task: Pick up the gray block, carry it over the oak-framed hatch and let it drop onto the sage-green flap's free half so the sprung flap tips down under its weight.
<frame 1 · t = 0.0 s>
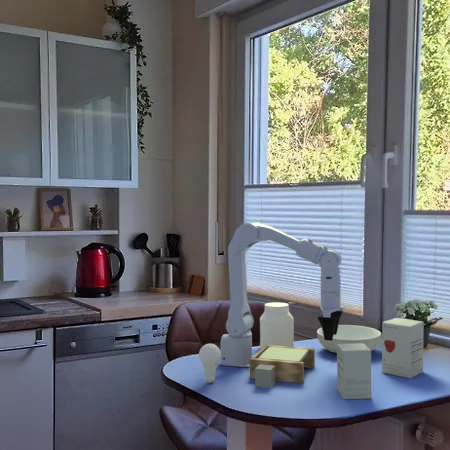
hand: (330, 337, 172), 10 cm above the table, tool pointing down, fingers open, 7 cm apart
lightbulb: (210, 383, 163), on the table
hatch frame: (283, 372, 172), on the table
hatch: (282, 354, 172), point 5 cm above the table, hinge at 0.0°
supplement box: (353, 395, 152), on the table
serving bowl: (348, 352, 195), on the table
supplement box 2: (402, 373, 171), on the table
gray block: (265, 385, 161), on the table
jar: (276, 348, 201), on the table
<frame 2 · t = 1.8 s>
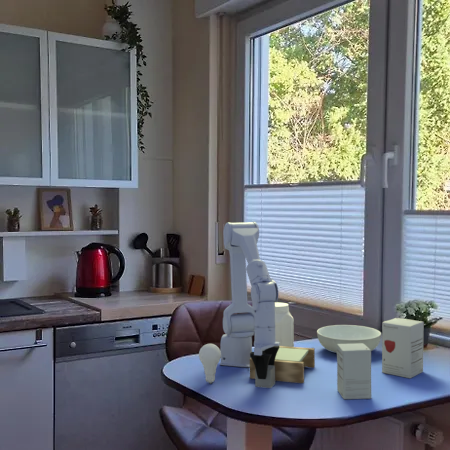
hand: (265, 375, 161), 3 cm above the table, tool pointing down, fingers open, 6 cm apart
nothing on the table moved.
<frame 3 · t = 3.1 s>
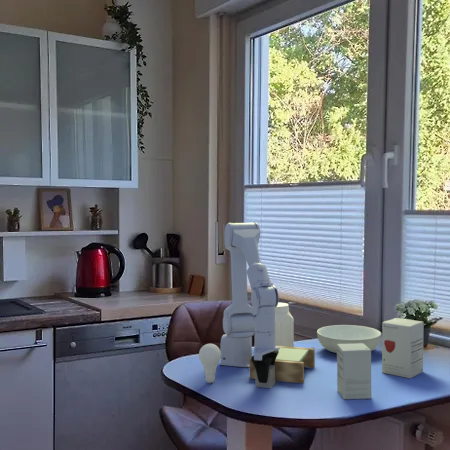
hand: (265, 379, 161), 1 cm above the table, tool pointing down, fingers closed on gray block, 4 cm apart
gray block: (265, 384, 161), on the table, touching gripper
everything else where it was.
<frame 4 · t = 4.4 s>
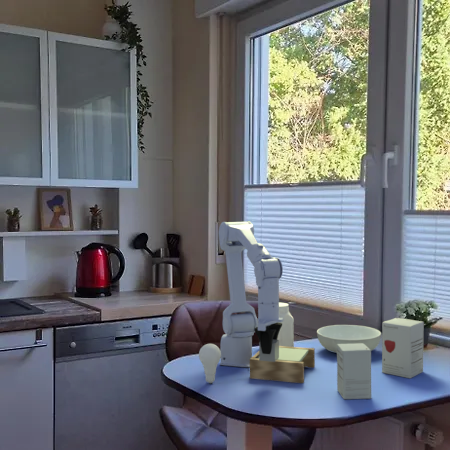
hand: (268, 351, 162), 9 cm above the table, tool pointing down, fingers closed on gray block, 4 cm apart
gray block: (269, 359, 162), point 7 cm above the table, touching gripper
everything else where it was.
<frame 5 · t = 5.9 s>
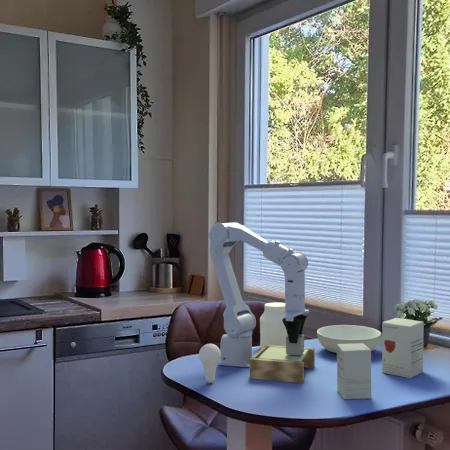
hand: (295, 341, 171), 9 cm above the table, tool pointing down, fingers closed on gray block, 4 cm apart
gray block: (295, 352, 171), point 6 cm above the table, touching gripper
everything else where it was.
when the fingers open (10 cm above the table, at t = 6.5 s): gray block drops 4 cm, resting on hatch.
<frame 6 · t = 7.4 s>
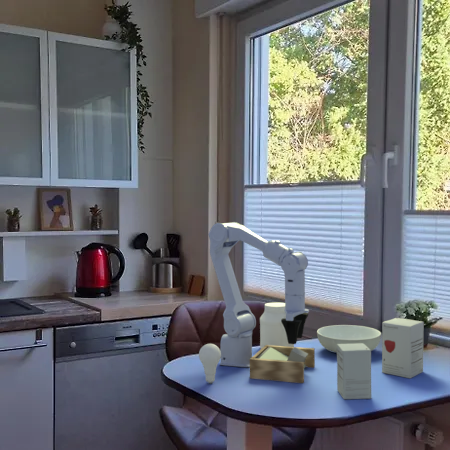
hand: (295, 340, 171), 10 cm above the table, tool pointing down, fingers open, 7 cm apart
hatch: (281, 362, 173), point 3 cm above the table, hinge at -23.3°, touching gray block
gray block: (293, 367, 171), point 2 cm above the table, tilted 23°, touching hatch
everything else where it was.
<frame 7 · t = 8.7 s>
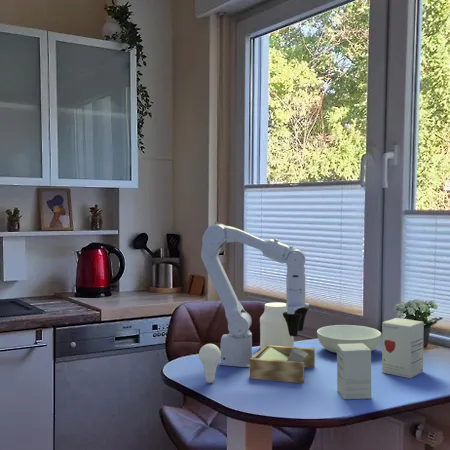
hand: (296, 333, 179), 10 cm above the table, tool pointing down, fingers open, 7 cm apart
nothing on the table moved.
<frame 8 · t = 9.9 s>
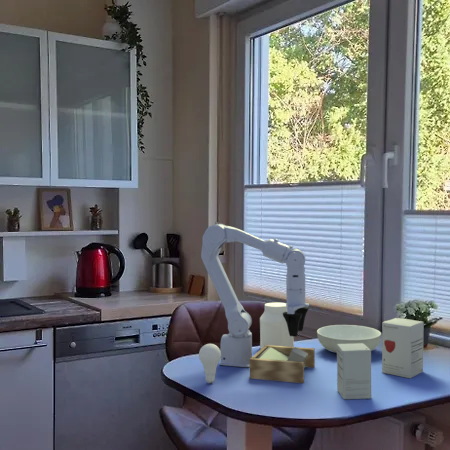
hand: (296, 333, 179), 10 cm above the table, tool pointing down, fingers open, 7 cm apart
nothing on the table moved.
at the end: gray block point 1.7 cm above the table; hatch at -23° (first picture: +0°); the gripper is holding nothing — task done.
